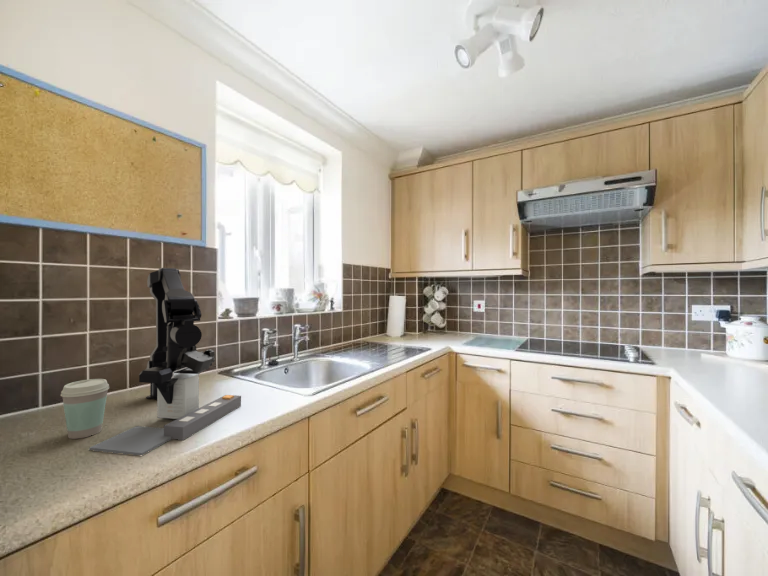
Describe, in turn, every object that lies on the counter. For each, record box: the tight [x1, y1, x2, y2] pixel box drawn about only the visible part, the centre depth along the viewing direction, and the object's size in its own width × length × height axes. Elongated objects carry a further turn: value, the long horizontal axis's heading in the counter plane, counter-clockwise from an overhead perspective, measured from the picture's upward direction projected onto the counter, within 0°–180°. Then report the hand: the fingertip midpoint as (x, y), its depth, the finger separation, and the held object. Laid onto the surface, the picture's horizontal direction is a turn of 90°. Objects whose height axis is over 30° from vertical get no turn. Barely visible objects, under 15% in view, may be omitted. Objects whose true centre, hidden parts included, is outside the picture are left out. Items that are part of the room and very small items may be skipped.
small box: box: [156, 373, 200, 420], centre depth 85 cm, size 8×6×10 cm
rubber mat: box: [88, 425, 172, 456], centre depth 72 cm, size 13×11×1 cm
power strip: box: [163, 394, 242, 441], centre depth 84 cm, size 5×22×4 cm, turn 171°
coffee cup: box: [60, 378, 110, 440], centre depth 76 cm, size 8×8×12 cm
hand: (178, 399), depth 85 cm, fingers closed on small box, 6 cm apart
